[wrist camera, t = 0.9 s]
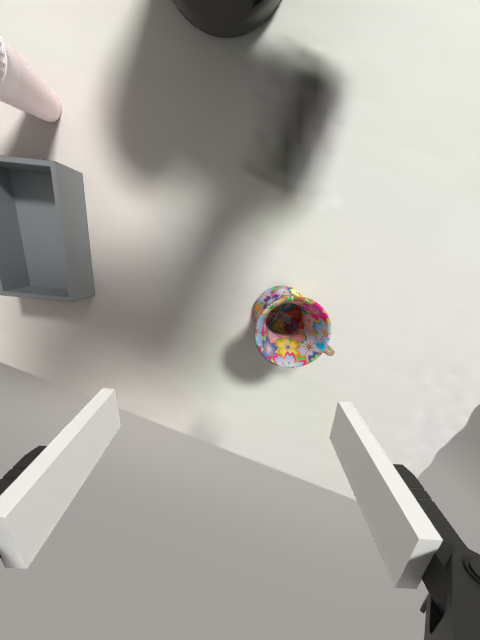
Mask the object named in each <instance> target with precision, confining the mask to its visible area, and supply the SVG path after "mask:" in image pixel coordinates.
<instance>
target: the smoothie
mask: <svg viewBox="0 0 480 640" xmlns="http://www.w3.org/2000/svg"><path fill="white" fill-rule="evenodd" d="M0 101H2V102H4V103H7V104H9V105H11V106H13V107H15V108H18V109H20V110H22V111H24V112H26V113H29V114H31V115H33V116H35V117H37V118H40V119H42V120H44V121H46V122H55V121H57V120H58V119H59V118H60V116H61V112H62V105H61V102H60V99H59V97H58V96H57V94H56V93H55V92H54V91H53V90H52V89H51V88H50V87H49V86H48V85H47V84H46V83H45V82H44V80H43V79H42V78H41V77H40V76H39V75H38V74H37V73H36V72H35V71H34V70H33V69H32V68H31V67H30V66H29V65H28V64H27V63H26V62H25V61H24V60H23V59H22V58H21V57H20V56H19V54H18V53H17V52H16V51H15V50H14V49H13V48H12V47H11V46H10V45H9V44H8V43H7V42H6V41H5V40H4V39H3V38H2V37H1V36H0Z"/></svg>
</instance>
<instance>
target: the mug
mask: <svg viewBox="0 0 480 640" xmlns="http://www.w3.org/2000/svg"><path fill="white" fill-rule="evenodd" d="M254 318H255V321H256V326H255V333H254V336H255V342H256V346H257V348H258V350H259V352H260V353H261V354H262V356H263V357H264V358H265V359H267V360H268V361H269V362H271V363H273V364H275V365H277V366H281V367H287V368H294V367H300V366H304V365H306V364H308V363H310V362H312V361H314V360H315V359H317V358H318V357H319V356H320V355H321V354H322V353H323V352H324V353H325V354H327V355H329V356H332V355H333V354H334V350H333V349H332V348H331V347H330V346H329V345H328V343H329V340H330V336H331V324H330V320H329V317H328V315H327V313H326V312H325V310H324V309H323V308H322V307H321V306H320V305H319V304H318V303H316V302H315V301H313V300H311V299H309V298H305V297H303V296H302V295H301V294H300V293H299V292H298V291H297V290H295V289H293V288H291V287H287V286H276V287H273V288H270V289H268V290H266V291H265V292H264V293H263V294H262V295H261V296H260V297H259V298H258V300H257V302H256V304H255V308H254Z"/></svg>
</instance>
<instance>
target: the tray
mask: <svg viewBox="0 0 480 640" xmlns="http://www.w3.org/2000/svg"><path fill="white" fill-rule="evenodd" d="M0 295H4V296H15V297H26V298H37V299H48V300H59V301H70V302H74V301H77V300H80V299H83V298H86V297H89V296H92V295H95V293H94V283H93V273H92V264H91V254H90V244H89V235H88V225H87V215H86V205H85V196H84V186H83V176H82V173H80V172H78V171H76V170H73V169H71V168H69V167H67V166H65V165H62V164H60V163H58V162H56V161H49V160H40V159H30V158H21V157H11V156H2V155H0Z"/></svg>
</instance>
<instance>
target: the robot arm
mask: <svg viewBox="0 0 480 640" xmlns="http://www.w3.org/2000/svg"><path fill="white" fill-rule="evenodd" d="M280 1H281V0H174V2H175V4H176V5H177V7H178V8H179V9H180V11H181V12H182V13H183V15H184V16H185V17H186V18H187V19H188V20H189V21H190V22H191V23H193V24H194V25H195V26H196V27H198V28H199V29H201V30H203V31H205V32H207V33H209V34H212V35H215V36H220V37H235V36H240V35H243V34H246V33H248V32H250V31H252V30H254V29H255V28H257V27H258V26H260V25H261V24H262V23H263V22H264V21H265V20H267V18H268V17H269V16H270V15H271V14H272V13H273V11H274V10H275V9H276V7H277V6H278V4H279V2H280ZM120 427H121V425H120V417H119V411H118V403H117V396H116V389H106V388H102V389H101V390H100V391H99V392H98V393H97V394H96V396H95V397H94V398H93V399H92V400H91V401H90V402H89V403H88V404H87V405H86V406H85V407H84V408H83V409H82V410H81V411H80V412H79V413H78V414H77V416H76V417H75V418H74V419H73V420H72V421H71V422H70V423H69V424H68V425H67V426H66V427H65V428H64V429H63V430H62V431H61V432H60V434H58V436H57V437H56V438H55V439H54V440H53V441H52V442H51V443H50V444H49V445H48V446H38V447H37V448H35V449H34V450H32V451H31V452H29V453H28V454H26V455H25V456H24V457H23V458H22V459H21V460H20V461H19V462H18V463H17V464H16V465H15V466H14V467H13V469H11V470H9V471H8V472H7V473H6V475H4V476H3V479H0V558H1V560H2V562H3V564H4V566H5V568H17V569H27V568H28V566H29V565H30V563H31V562H32V560H33V559H34V557H35V556H36V554H37V553H38V551H39V550H40V548H41V547H42V545H43V544H44V542H45V541H46V539H47V538H48V536H49V535H50V533H51V532H52V530H53V528H54V527H55V525H56V524H57V522H58V521H59V519H60V518H61V516H62V515H63V513H64V512H65V510H66V509H67V507H68V506H69V504H70V503H71V501H72V500H73V498H74V497H75V495H76V494H77V492H78V490H79V489H80V487H81V486H82V484H83V483H84V481H85V480H86V478H87V477H88V475H89V474H90V472H91V471H92V469H93V468H94V466H95V465H96V463H97V462H98V460H99V458H100V457H101V456H102V454H103V452H104V451H105V449H106V448H107V446H108V445H109V443H110V442H111V440H112V439H113V437H114V436H115V434H116V433H117V431H118V430H119V428H120ZM330 440H331V442H332V444H333V447H334V449H335V451H336V453H337V456H338V458H339V460H340V463H341V465H342V467H343V469H344V472H345V474H346V476H347V479H348V481H349V483H350V485H351V488H352V490H353V492H354V495H355V497H356V499H357V501H358V504H359V506H360V508H361V511H362V513H363V515H364V517H365V520H366V522H367V524H368V527H369V528H370V531H371V534H372V536H373V538H374V540H375V543H376V545H377V547H378V549H379V552H380V554H381V556H382V559H383V561H384V563H385V566H386V568H387V570H388V572H389V575H390V577H391V579H392V581H393V584H394V586H395V588H410V589H416V588H417V587H418V585H419V583H420V581H421V580H423V582H424V584H425V586H426V588H427V590H428V591H429V594H428V595H427V597H426V599H425V600H424V602H423V604H422V606H421V609H420V611H421V612H422V613H424V612H425V611H426V620H425V621H426V622H425V636H424V640H480V555H479V554H478V553H475V552H474V551H472V550H470V549H468V548H467V547H466V545H465V544H464V543H463V542H462V540H461V539H460V537H459V536H458V535H457V533H456V532H455V530H454V529H453V528H452V526H451V525H450V524H449V522H448V521H447V519H446V518H445V517H444V515H443V514H442V513H441V511H440V510H439V509H438V508H437V506H436V504H435V503H434V502H432V500H431V498H430V496H429V495H428V493H427V492H426V491H424V488H423V486H422V485H421V484H420V482H419V481H418V480H417V478H416V477H415V476H414V475H413V474H412V473H411V472H410V471H409V470H408V469H407V468H406V467H404V466H403V465H398V464H392V463H391V461H390V460H389V458H388V457H387V455H386V454H385V452H384V451H383V449H382V448H381V446H380V445H379V443H378V442H377V440H376V439H375V437H374V436H373V434H372V433H371V431H370V430H369V428H368V427H367V425H366V424H365V422H364V421H363V419H362V418H361V416H360V415H359V413H358V412H357V410H356V409H355V407H354V406H353V404H352V403H351V402H339V401H338V404H337V409H336V413H335V417H334V421H333V426H332V430H331V434H330Z"/></svg>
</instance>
